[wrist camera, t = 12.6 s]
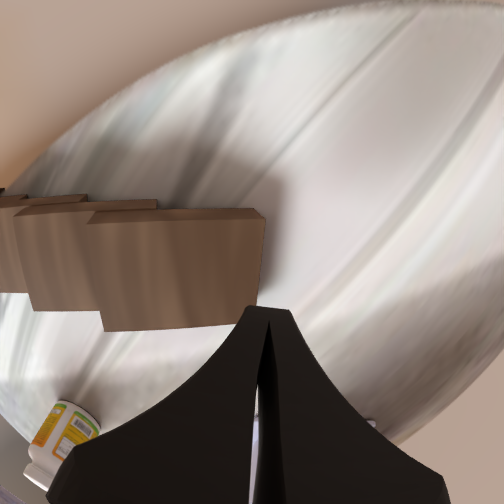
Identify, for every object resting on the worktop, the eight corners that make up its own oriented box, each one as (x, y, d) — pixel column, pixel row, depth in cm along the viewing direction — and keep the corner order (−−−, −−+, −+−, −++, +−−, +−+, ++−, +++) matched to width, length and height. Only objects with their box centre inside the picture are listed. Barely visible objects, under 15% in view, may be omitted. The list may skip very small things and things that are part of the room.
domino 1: (78, 201, 12) (-25, 211, 10) (91, 293, 14) (-6, 292, 12) (86, 193, 13) (-12, 203, 12) (96, 278, 15) (4, 279, 14)
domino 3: (265, 219, 12) (86, 224, 10) (254, 321, 14) (104, 331, 12) (253, 208, 13) (94, 212, 11) (245, 303, 15) (108, 311, 13)
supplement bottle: (62, 417, 23) (27, 480, 14) (52, 390, 21) (8, 460, 12) (103, 438, 24) (73, 507, 15) (98, 414, 22) (59, 493, 13)
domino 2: (156, 208, 12) (12, 216, 10) (160, 308, 14) (33, 311, 12) (156, 199, 13) (25, 207, 11) (159, 291, 15) (42, 295, 13)
